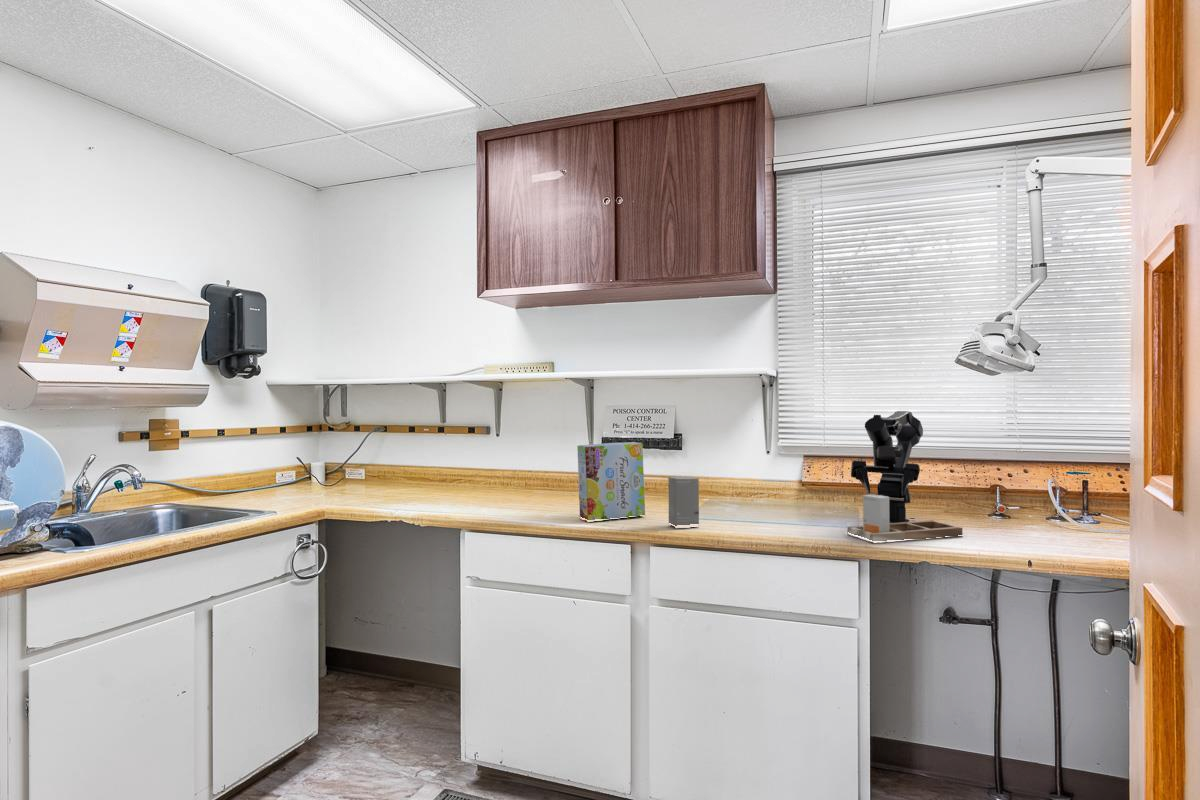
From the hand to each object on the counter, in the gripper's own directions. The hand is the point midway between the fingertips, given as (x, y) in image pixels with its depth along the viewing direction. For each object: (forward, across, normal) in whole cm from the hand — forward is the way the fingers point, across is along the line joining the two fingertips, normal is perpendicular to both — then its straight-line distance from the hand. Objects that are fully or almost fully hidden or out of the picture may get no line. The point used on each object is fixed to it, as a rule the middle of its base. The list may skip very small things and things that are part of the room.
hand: (886, 494), depth 195 cm
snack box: (+7, -86, +16) cm, 87 cm away
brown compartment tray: (+9, +5, +7) cm, 13 cm away
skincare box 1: (+12, -59, +9) cm, 61 cm away
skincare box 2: (+13, -3, +4) cm, 14 cm away
